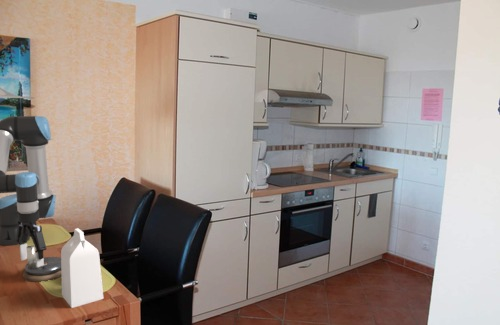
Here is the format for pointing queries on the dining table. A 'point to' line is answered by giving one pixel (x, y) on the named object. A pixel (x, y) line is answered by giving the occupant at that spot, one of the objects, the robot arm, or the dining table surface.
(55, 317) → the dining table surface
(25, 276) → the wheel base
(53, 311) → the dining table surface
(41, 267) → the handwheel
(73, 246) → the milk
